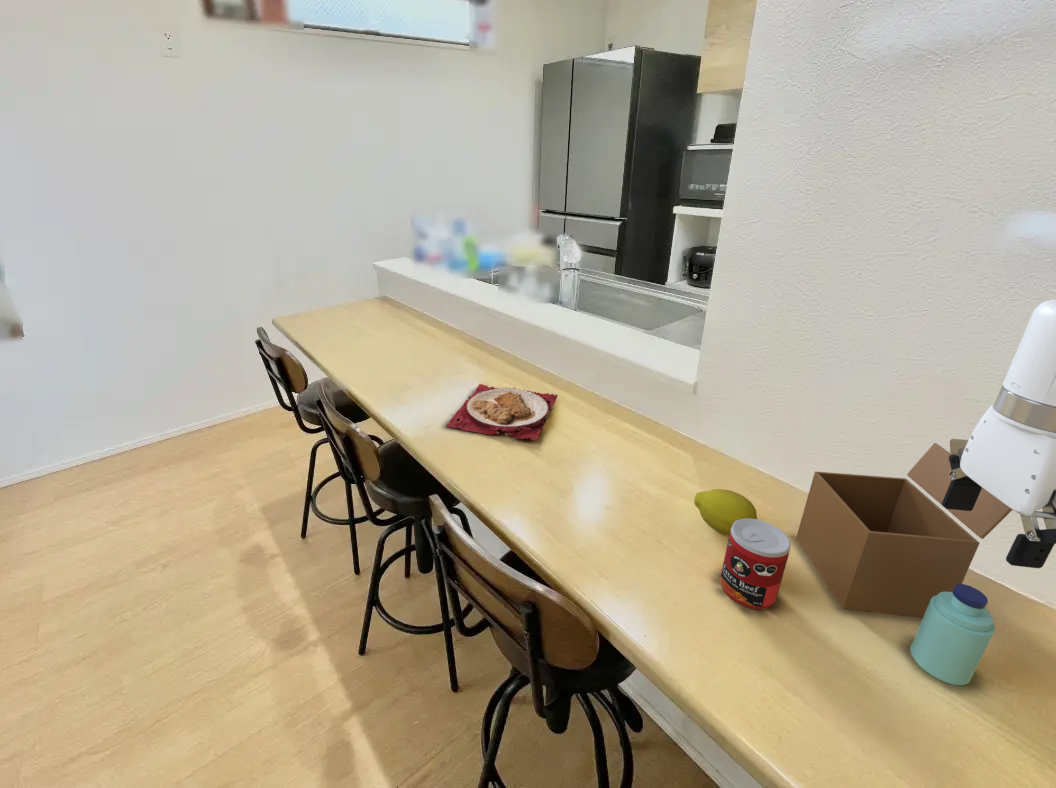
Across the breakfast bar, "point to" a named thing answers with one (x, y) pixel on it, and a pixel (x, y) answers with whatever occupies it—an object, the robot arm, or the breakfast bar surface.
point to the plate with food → (504, 412)
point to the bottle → (953, 634)
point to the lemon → (723, 509)
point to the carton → (882, 543)
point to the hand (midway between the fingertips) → (987, 534)
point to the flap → (936, 481)
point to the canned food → (754, 563)
